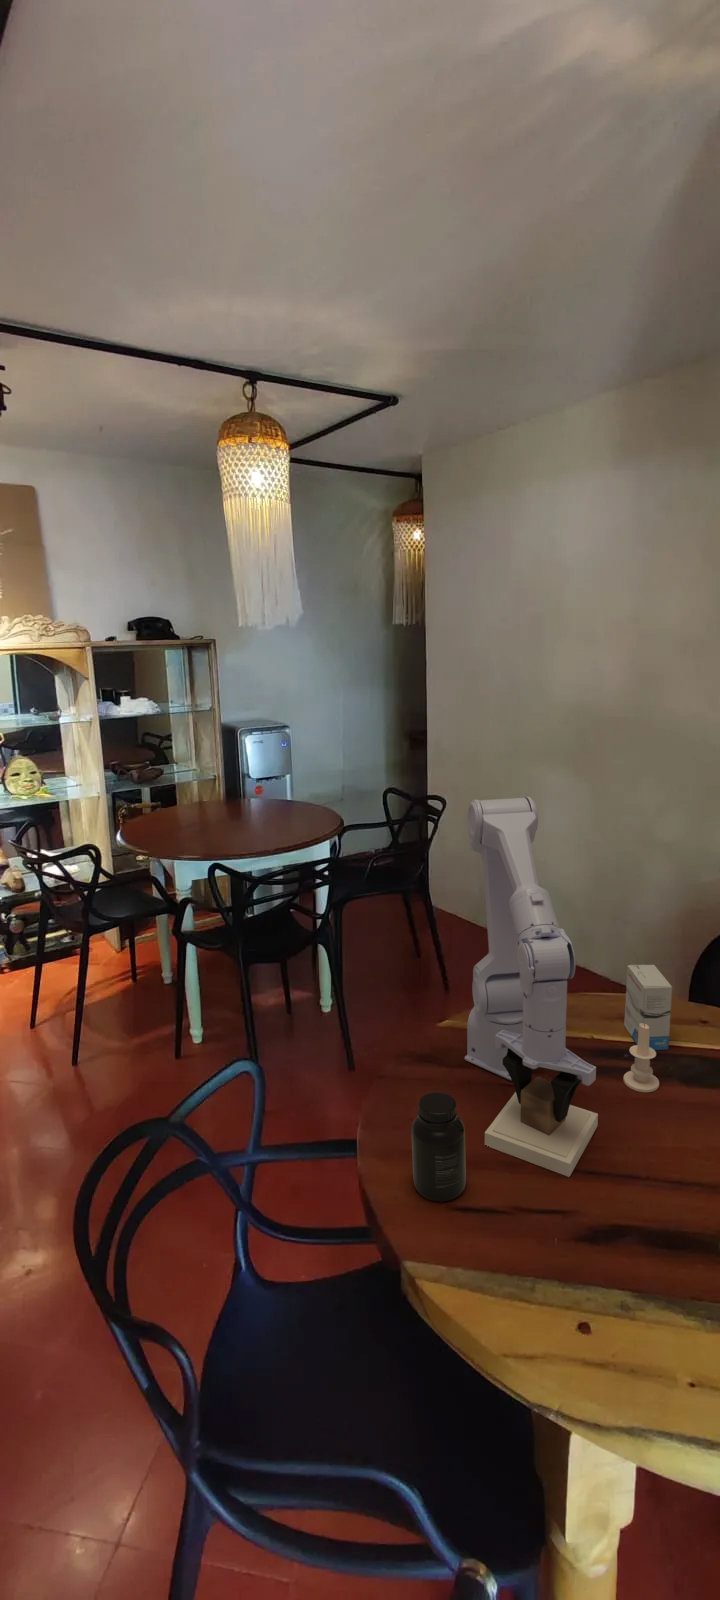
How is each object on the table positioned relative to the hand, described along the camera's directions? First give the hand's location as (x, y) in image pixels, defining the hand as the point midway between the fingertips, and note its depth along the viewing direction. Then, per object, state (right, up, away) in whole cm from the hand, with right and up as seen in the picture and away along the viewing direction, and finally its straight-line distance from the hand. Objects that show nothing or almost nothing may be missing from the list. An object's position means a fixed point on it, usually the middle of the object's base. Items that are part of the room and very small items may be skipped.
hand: (542, 1109), depth 106 cm
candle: (+18, -1, +12) cm, 22 cm away
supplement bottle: (-15, -7, -7) cm, 18 cm away
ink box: (+24, +2, +25) cm, 34 cm away
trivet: (0, -4, +1) cm, 4 cm away
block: (0, -2, +1) cm, 2 cm away
